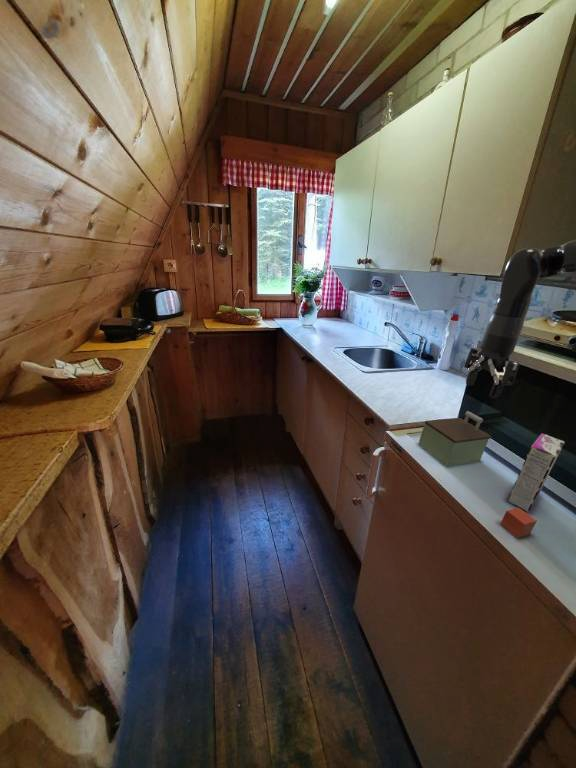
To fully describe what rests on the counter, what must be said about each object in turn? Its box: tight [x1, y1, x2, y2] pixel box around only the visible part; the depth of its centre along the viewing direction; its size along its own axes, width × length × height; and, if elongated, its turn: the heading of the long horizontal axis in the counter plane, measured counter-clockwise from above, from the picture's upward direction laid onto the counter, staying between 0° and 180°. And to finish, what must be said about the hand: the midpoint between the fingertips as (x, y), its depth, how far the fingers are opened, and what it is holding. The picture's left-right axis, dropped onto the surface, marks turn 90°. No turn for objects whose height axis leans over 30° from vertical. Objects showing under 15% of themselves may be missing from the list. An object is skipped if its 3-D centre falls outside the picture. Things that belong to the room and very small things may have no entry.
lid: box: [424, 410, 493, 443], centre depth 92 cm, size 14×12×5 cm
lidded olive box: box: [417, 422, 490, 467], centre depth 94 cm, size 14×12×8 cm
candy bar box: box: [507, 433, 565, 513], centre depth 76 cm, size 11×5×16 cm, turn 131°
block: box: [500, 506, 538, 539], centre depth 67 cm, size 4×4×4 cm
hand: (480, 390), depth 85 cm, fingers open, 8 cm apart
